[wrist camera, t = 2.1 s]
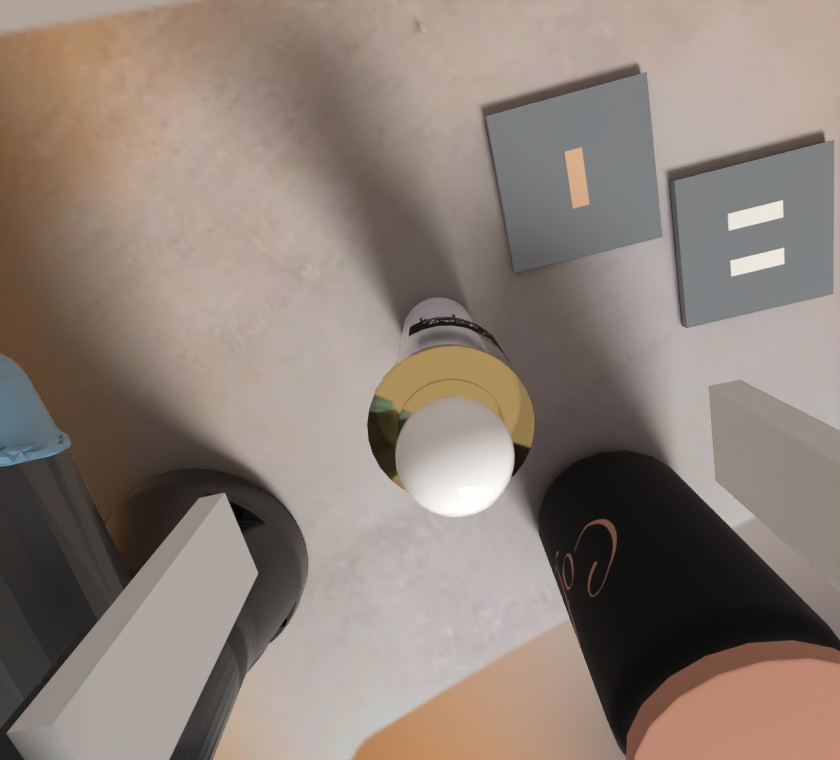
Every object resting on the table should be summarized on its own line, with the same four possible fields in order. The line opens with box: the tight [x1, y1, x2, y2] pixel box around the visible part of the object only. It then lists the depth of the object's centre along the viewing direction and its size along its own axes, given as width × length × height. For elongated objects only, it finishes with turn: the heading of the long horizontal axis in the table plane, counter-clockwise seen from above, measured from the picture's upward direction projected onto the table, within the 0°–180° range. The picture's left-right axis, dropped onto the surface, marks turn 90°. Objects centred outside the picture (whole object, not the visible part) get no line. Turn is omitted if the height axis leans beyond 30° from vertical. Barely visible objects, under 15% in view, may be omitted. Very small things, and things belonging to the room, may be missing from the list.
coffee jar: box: [539, 451, 840, 760], centre depth 28 cm, size 11×11×18 cm
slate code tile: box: [670, 140, 834, 328], centre depth 30 cm, size 9×9×1 cm
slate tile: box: [485, 72, 662, 273], centre depth 29 cm, size 9×9×1 cm
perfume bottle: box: [367, 297, 535, 517], centre depth 23 cm, size 6×6×20 cm
